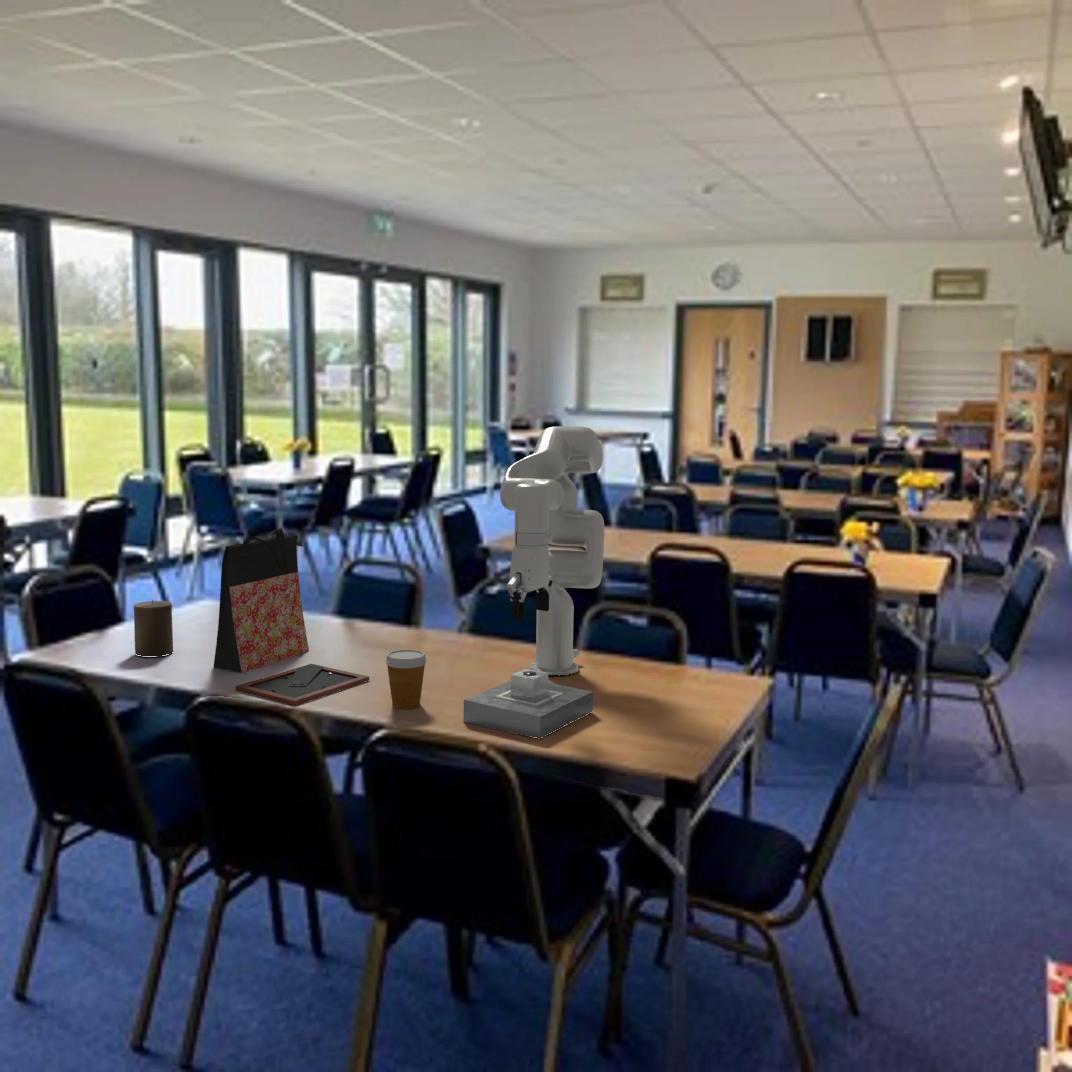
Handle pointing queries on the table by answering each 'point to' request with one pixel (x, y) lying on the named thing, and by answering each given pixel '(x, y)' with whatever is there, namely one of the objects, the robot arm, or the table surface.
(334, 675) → the picture frame
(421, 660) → the disposable coffee cup
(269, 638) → the gift bag
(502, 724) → the block
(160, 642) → the pillar candle
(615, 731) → the table surface
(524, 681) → the block
